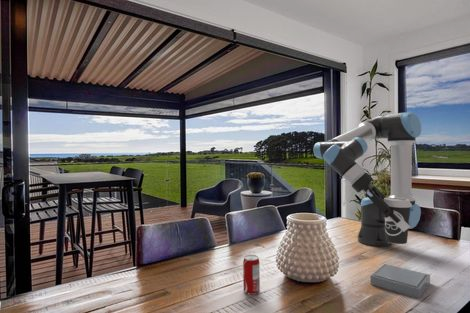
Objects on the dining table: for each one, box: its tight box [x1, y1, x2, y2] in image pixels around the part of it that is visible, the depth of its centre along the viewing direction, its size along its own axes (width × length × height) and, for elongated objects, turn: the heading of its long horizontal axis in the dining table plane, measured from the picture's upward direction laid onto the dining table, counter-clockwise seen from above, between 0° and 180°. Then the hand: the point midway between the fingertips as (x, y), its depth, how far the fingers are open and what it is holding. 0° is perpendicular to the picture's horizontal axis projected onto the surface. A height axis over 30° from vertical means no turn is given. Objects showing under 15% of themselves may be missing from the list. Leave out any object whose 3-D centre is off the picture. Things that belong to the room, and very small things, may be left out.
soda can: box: [242, 254, 261, 295], centre depth 100 cm, size 6×6×12 cm
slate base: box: [370, 263, 431, 300], centre depth 104 cm, size 15×15×3 cm
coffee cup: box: [384, 196, 412, 245], centre depth 104 cm, size 10×10×15 cm
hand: (406, 225), depth 103 cm, fingers closed on coffee cup, 9 cm apart
